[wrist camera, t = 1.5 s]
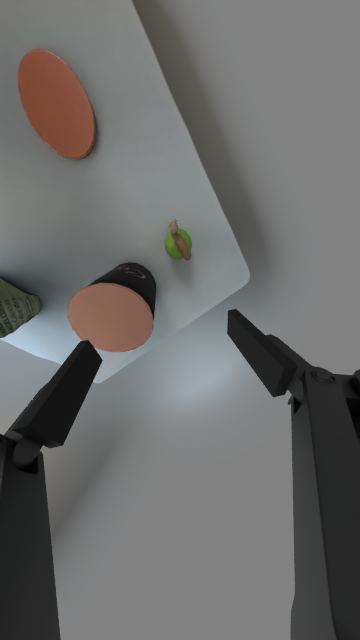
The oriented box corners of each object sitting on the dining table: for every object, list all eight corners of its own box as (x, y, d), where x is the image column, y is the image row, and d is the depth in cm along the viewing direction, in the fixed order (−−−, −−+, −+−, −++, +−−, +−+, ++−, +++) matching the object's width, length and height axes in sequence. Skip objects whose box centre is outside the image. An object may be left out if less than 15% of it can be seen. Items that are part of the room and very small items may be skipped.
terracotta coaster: (4, 63, 17) (-3, 56, 16) (73, 49, 17) (69, 41, 16) (53, 165, 22) (49, 162, 21) (107, 153, 22) (105, 150, 21)
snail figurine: (178, 218, 28) (188, 206, 17) (193, 248, 31) (209, 252, 21) (156, 235, 29) (155, 233, 18) (173, 262, 32) (180, 273, 22)
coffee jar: (152, 259, 31) (144, 279, 16) (159, 301, 36) (159, 347, 21) (104, 264, 30) (47, 289, 15) (119, 306, 36) (89, 357, 20)
